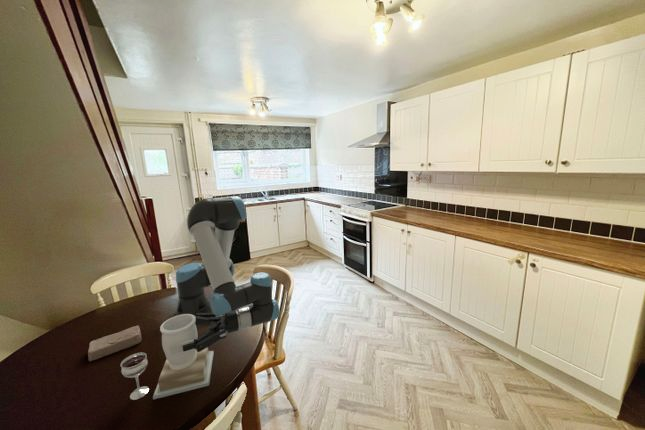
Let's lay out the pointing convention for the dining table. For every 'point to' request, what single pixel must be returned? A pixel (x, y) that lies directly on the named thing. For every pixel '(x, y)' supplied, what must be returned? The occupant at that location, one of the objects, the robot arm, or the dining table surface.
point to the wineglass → (135, 372)
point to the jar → (179, 340)
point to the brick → (114, 343)
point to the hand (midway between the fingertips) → (171, 337)
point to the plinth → (184, 373)
